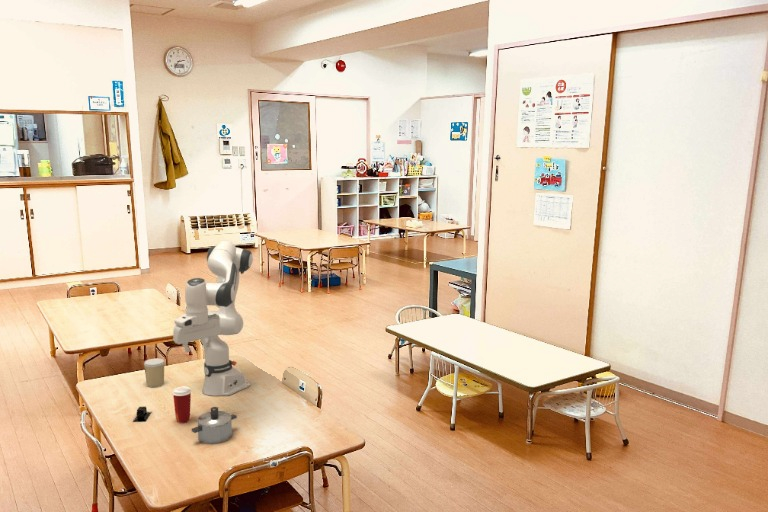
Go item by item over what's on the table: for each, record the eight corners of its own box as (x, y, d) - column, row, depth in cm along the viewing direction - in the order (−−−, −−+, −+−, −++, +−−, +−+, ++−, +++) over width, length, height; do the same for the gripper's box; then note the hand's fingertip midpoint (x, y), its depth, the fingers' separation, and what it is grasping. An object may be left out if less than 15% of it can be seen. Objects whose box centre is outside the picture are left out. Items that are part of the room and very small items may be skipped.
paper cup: (196, 418, 254) (195, 387, 252) (184, 425, 247) (183, 394, 245) (181, 415, 257) (179, 384, 254) (169, 422, 249) (167, 391, 247)
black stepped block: (146, 424, 248) (146, 414, 248) (128, 425, 248) (128, 414, 247) (154, 411, 261) (153, 402, 260) (137, 412, 260) (136, 402, 259)
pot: (226, 423, 250) (226, 407, 249) (244, 433, 241) (244, 417, 240) (185, 438, 236) (184, 422, 235) (202, 449, 227) (201, 432, 226)
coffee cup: (151, 380, 294) (150, 357, 292) (169, 381, 293) (168, 358, 291) (141, 387, 285) (140, 364, 283) (159, 389, 284) (158, 365, 282)
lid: (220, 409, 246) (219, 399, 246) (237, 419, 238) (237, 408, 237) (191, 419, 237) (191, 408, 236) (209, 430, 228) (208, 418, 228)
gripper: (215, 311, 255) (216, 342, 258) (170, 320, 241) (172, 353, 243) (223, 314, 251) (224, 345, 254) (178, 323, 236) (179, 356, 239)
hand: (198, 349), depth 248 cm, fingers open, 8 cm apart
